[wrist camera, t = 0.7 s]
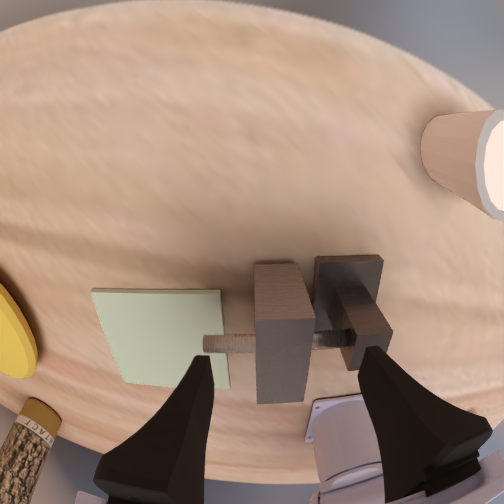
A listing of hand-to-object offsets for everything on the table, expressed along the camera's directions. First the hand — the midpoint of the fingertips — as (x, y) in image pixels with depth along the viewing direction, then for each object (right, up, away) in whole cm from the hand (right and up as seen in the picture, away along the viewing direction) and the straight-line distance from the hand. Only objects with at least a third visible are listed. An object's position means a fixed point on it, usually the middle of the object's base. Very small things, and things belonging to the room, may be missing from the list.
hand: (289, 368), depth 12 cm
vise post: (+2, +2, +10) cm, 10 cm away
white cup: (+13, +13, +5) cm, 19 cm away
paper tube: (-34, -20, +19) cm, 44 cm away
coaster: (-9, -3, +11) cm, 15 cm away
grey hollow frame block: (0, +2, +10) cm, 10 cm away
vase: (-31, -2, +11) cm, 33 cm away
